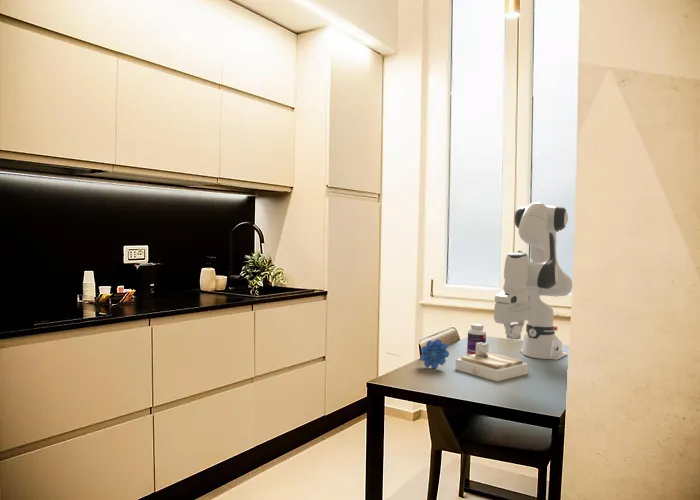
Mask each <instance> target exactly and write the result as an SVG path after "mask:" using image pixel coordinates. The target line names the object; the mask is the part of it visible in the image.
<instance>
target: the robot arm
mask: <svg viewBox="0 0 700 500" xmlns="http://www.w3.org/2000/svg"><path fill="white" fill-rule="evenodd" d="M513 218H514V219H513V220H514V221H513V222H514V226H515V227H517V229H518V236H519V238H520V239H521V240H522V241H523V242H524V243H525V244H527V245H529V246H530V247H529V249H530V250H529V256H528V254H527V253H524V252H520V251H519V252H518V251H517V252H516V251H515V252H510V253H507V255H506V257H505V263H504V270H503V278H504V284H503V288H502V291H500V292H499V293H497V294H496V295H495V296H494V302H495V304H494V309H493V319H494V322H495V323H497V324H502V325H503V327H504V330H505V335H506V336H507V335H510V334H512V330H511V328H510V325H511V323H516V324H520V325H521V333H522V332H523V327H524V325H525V321H527V323H526V326H525V331H526V333H525V334H524V335H523V340H522V341H523V342H522V347H521V348H520V350H519V352H520V353H521V354H522V355H523V356H527V357H530V358H535V359H545V360H559V359H561V358H563V357H566V356H568V353H567V352H566V351H564V350H563V342H562V341H561V340H560V339H559V337H558V336H556V334H555V333H556V332H555V331H558V329H559V328H558V326H557V325H554V309H553V307H552V306H551V305H549V304H547V303H546V302H544V301H542V299H541V297H540V296H546V297H557V298H558V297H567V296H568V295H569V294H570V293H571V291H572V289H573V285H572V284H573V281H572V278H571V277H570V275H568V274H567V273H566V272H564V271H563V269H562V268H561V266H560V265H559V262H558V259H557V233H558V232H559V231H562V230H563V229H565V228H566V226H567V224H568V222H569V214H568V212H567V209H566V208H565V207H564V206H558V205H556V206H555V205H554V206H553V205H546V204H544V203H542V202H532V203H529V204H528V205H524V206H519V207H518V208H516V209H515V212H514V217H513ZM529 257H530V260H531V261H529Z"/></svg>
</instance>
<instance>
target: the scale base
mask: <svg viewBox="0 0 700 500" xmlns="http://www.w3.org/2000/svg"><path fill="white" fill-rule="evenodd" d="M528 367H529V363H525V362H523V364H518V365H514V366H509V367H505V368H500V369H494V368H490V367H487V366H483V365H479V364H476V363H472V362H468V361H465V360H461V357H460V358H455V370H457V371H460V372H464V373H468V374H471V375H474V376H477V377H481V378H484V379H488V380H490V381H495V382H500V381H504V380H508V379H509V380H510V379H512V378H517V377H520V376H525V375H528V370H529V368H528Z"/></svg>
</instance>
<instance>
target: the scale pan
mask: <svg viewBox="0 0 700 500" xmlns="http://www.w3.org/2000/svg"><path fill="white" fill-rule="evenodd" d="M460 358H461V360H465V361H468V362H472V363H476V364H479V365H483V366H487V367H490V368H494V369H500V368H505V367H509V366H514V365H518V364H523V363H524V362H523V360H522V359H517V358H514V357H509V356H505V355H502V354H498V353H494V352H489V351H488V357H477V356H476V354H473V355H463V356H460Z"/></svg>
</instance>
